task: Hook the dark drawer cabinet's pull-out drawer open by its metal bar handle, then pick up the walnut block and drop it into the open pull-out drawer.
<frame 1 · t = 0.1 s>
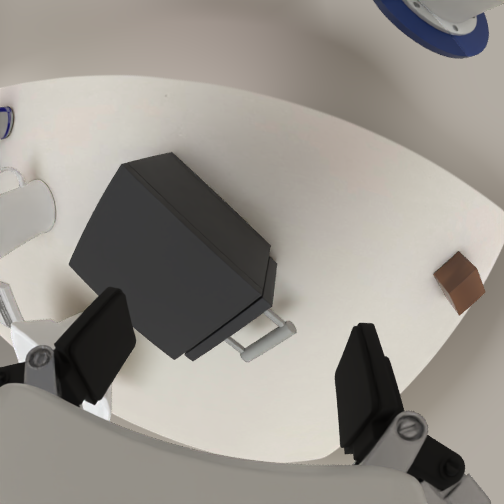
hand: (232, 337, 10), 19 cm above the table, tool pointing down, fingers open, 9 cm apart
mug: (40, 195, 31), on the table
dark drawer cabinet: (185, 237, 30), on the table
pull-out drawer: (206, 288, 27), point 5 cm above the table, slide at 0.5 cm
beverage can: (8, 122, 26), on the table
block: (451, 274, 27), on the table
bowl: (99, 332, 40), on the table
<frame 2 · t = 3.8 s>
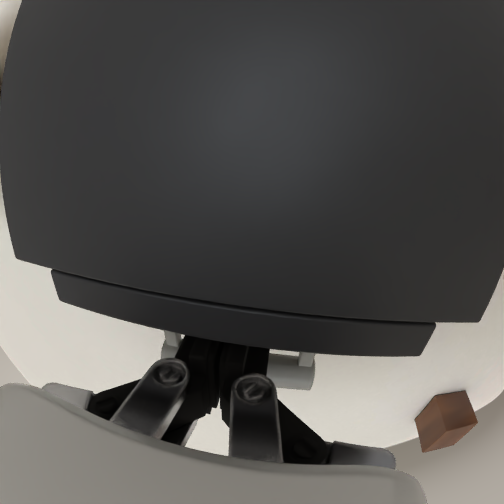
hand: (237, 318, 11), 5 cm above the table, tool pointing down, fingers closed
dark drawer cabinet: (271, 55, 11), on the table
pull-out drawer: (250, 164, 9), point 5 cm above the table, slide at 0.7 cm, touching gripper
block: (440, 405, 20), on the table
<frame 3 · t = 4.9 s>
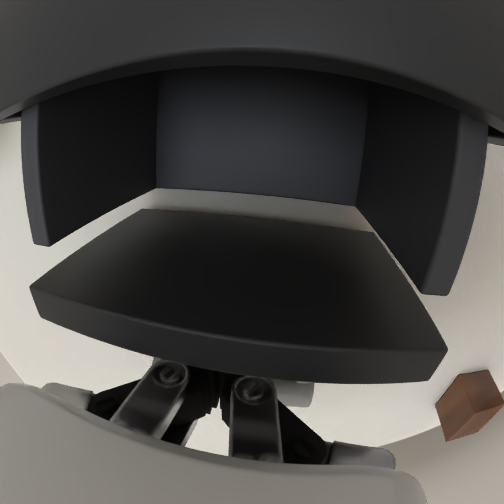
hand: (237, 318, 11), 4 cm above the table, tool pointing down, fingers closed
pull-out drawer: (242, 167, 8), point 5 cm above the table, slide at 4.8 cm, touching gripper
block: (462, 388, 17), on the table
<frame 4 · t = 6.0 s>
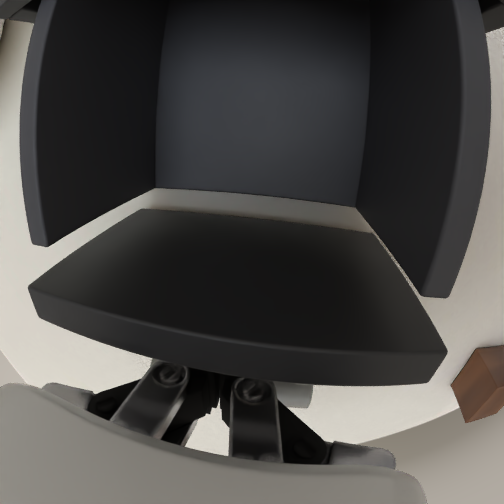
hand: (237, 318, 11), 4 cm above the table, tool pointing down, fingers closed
pull-out drawer: (241, 167, 8), point 5 cm above the table, slide at 8.1 cm, touching gripper
block: (479, 365, 16), on the table
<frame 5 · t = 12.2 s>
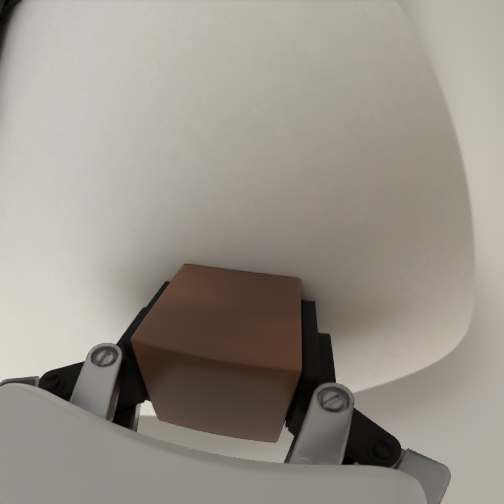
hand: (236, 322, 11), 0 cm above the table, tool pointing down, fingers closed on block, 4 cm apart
block: (238, 317, 11), on the table, touching gripper
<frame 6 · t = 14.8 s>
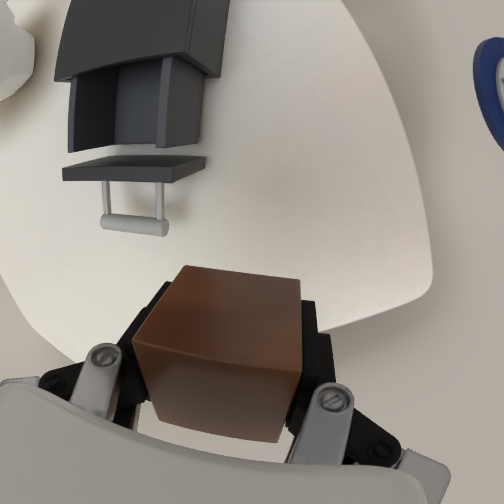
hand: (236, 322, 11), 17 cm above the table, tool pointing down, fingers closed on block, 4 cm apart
dark drawer cabinet: (169, 22, 19), on the table
pull-out drawer: (133, 129, 20), point 5 cm above the table, slide at 8.1 cm
block: (238, 318, 11), point 17 cm above the table, touching gripper
bowl: (24, 66, 21), on the table
when the fingers open (13 cm above the table, at t = 17.7 s): block drops 11 cm, resting on pull-out drawer.
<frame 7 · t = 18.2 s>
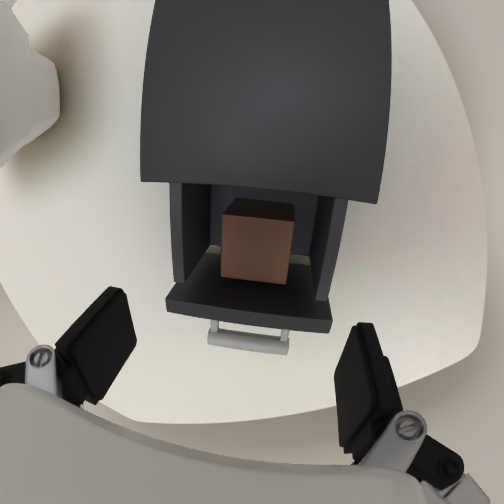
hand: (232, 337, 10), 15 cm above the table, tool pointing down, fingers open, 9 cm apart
dark drawer cabinet: (274, 82, 19), on the table
pull-out drawer: (256, 248, 20), point 5 cm above the table, slide at 8.1 cm, touching block
block: (261, 227, 22), point 2 cm above the table, touching pull-out drawer
bowl: (43, 103, 21), on the table
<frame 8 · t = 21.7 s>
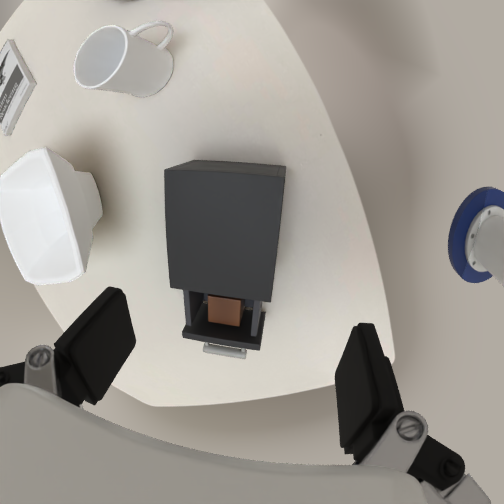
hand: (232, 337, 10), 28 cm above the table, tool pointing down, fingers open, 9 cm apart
mug: (156, 64, 30), on the table
dark drawer cabinet: (235, 213, 38), on the table
pull-out drawer: (226, 307, 39), point 5 cm above the table, slide at 8.1 cm, touching block
block: (230, 293, 41), point 2 cm above the table, touching pull-out drawer
bowl: (86, 197, 40), on the table
book: (10, 83, 31), on the table
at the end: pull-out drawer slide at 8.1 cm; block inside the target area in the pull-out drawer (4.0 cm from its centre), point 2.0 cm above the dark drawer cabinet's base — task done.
